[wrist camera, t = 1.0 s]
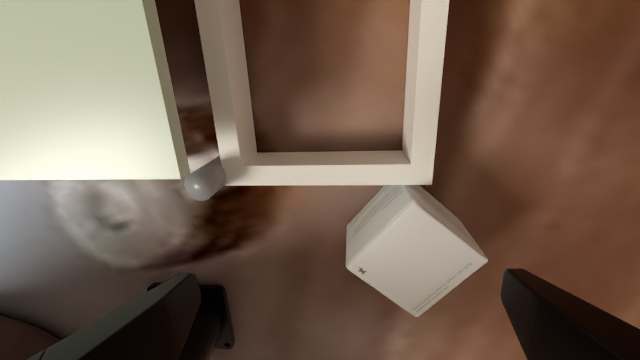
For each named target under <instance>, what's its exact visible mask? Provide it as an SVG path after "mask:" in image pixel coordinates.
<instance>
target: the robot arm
mask: <svg viewBox="0 0 640 360" xmlns="http://www.w3.org/2000/svg"><path fill="white" fill-rule="evenodd" d="M147 291H148V292H146V293H145V294H143V295H141V296H139V297H138V298H136V299H134V300H132V301H130V302H129V303H127V304H125V305H123V306H122V307H120V308H118V309H116V310H114V311H113V312H111V313H109V314H107V315H106V316H104V317H102V318H100V319H98V320H97V321H95V322H93V323H91V324H90V325H88V326H86V327H84V328H83V329H81V330H79V331H77V332H75V333H74V334H72V335H70V336H68V337H67V338H65V339H63V340H61V341H59V342H58V343H56V344H54V345H52V346H51V347H49V348H48V349H47V350H43V351H42V352H40V353H38V354H36V355H34V356H33V357H31V358H29V359H27V360H209V359H210V357H211V354H212V352H213V350H214V348H217V349H231V348H232V347H233V345H234V342H235V341H234V336H233V331H232V325H231V320H230V315H229V309H228V304H227V299H226V293H225V289H224V288H223V287H222V286H219V285H198V282H197V278H196V276H195V274H193V273H181V274H178V275H177V276H175V277H173V278H171V279H169V280H168V281H166V282H164V283H152V284H151V285H150V286H149V287H148V289H147ZM217 291H218V292H219V293H218V292H217ZM501 300H502V303H503V305H504V308H505V310H506V312H507V314H508V317H509V319H510V321H511V324H512V326H513V328H514V331H515V333H516V335H517V338H518V340H519V342H520V344H521V347H522V349H523V351H524V353H525V355H526V358H527V360H640V329H638V328H636V327H634V326H632V325H631V324H629V323H627V322H625V321H623V320H621V319H619V318H617V317H615V316H613V315H611V314H609V313H607V312H605V311H603V310H601V309H600V308H598V307H596V306H594V305H592V304H590V303H588V302H586V301H584V300H582V299H580V298H578V297H576V296H574V295H572V294H571V293H569V292H567V291H565V290H563V289H561V288H559V287H557V286H555V285H553V284H551V283H549V282H547V281H545V280H543V279H542V278H540V277H538V276H536V275H534V274H532V273H530V272H528V271H526V270H524V269H520V268H517V269H506V270H505V271H504V274H503V280H502V287H501Z"/></svg>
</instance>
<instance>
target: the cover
mask: <svg viewBox="0 0 640 360" xmlns="http://www.w3.org/2000/svg"><path fill="white" fill-rule="evenodd" d="M188 174H190V170H189V165H188V161H187V156H186V151H185V146H184V141H183V136H182V131H181V126H180V121H179V117H178V112H177V107H176V102H175V97H174V92H173V87H172V82H171V77H170V73H169V68H168V63H167V58H166V53H165V48H164V43H163V38H162V33H161V29H160V24H159V19H158V14H157V9H156V4H155V0H0V180H102V179H182V178H183V177H185V176H186V175H188Z"/></svg>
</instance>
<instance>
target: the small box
mask: <svg viewBox="0 0 640 360" xmlns="http://www.w3.org/2000/svg"><path fill="white" fill-rule="evenodd" d="M487 262H488V259H487V257H486V256H485V254H484V253H483V252H482V250H481V249H480V247H479V246H478V245H477V243H476V242H475V240H474V239H473V238H472V236H471V235H470V234H469V232H468V231H467V230H466V228H465V227H464V225H463V224H462V223H461V221H460V220H459V219H458V218H457V217H456V216H455V215H454V214H452V213H451V212H450V211H449V210H448V209H447V208H446V207H444V206H443V205H442V204H441V203H440V202H438V201H437V200H436V199H435V198H434V197H433V196H431V195H430V194H429V193H428V192H427V191H426V190H424V189H423V188H422V187H421V186H420V185H385V186H384V187H383V188H382V189H381V190H380V191H379V192H378V193H377V194H376V195H375V196H374V197H373V198H372V199H371V200H370V201H369V203H368V204H367V205H366V206H365V207H364V208H363V209H362V210H361V211H360V212H359V213H358V214H357V215H356V216H355V217H354V218H353V219H352V221H351V222H350V223H349V224H348V225H347V235H346V268H347V269H348V270H349V271H351V272H352V273H354V274H355V275H356V276H358V277H359V278H361V279H362V280H364V281H365V282H366V283H368V284H369V285H371V286H372V287H374V288H375V289H376V290H378V291H379V292H381V293H382V294H383V295H385V296H386V297H388V298H389V299H390V300H392V301H393V302H394V303H396V304H397V305H399V306H400V307H402V308H403V309H404V310H406V311H407V312H409V313H410V314H412V315H413V316H415V317H419V316H420V315H421V314H422V313H424V312H425V311H426V310H427V309H429V308H430V307H431V306H432V305H434V304H435V303H436V302H437V301H439V300H440V299H441V298H442V297H444V296H445V295H446V294H447V293H449V292H450V291H451V290H452V289H454V288H455V287H456V286H457V285H459V284H460V283H461V282H462V281H464V280H465V279H466V278H467V277H469V276H470V275H471V274H473V273H474V272H475V271H476V270H478V269H479V268H480V267H481V266H483V265H484V264H485V263H487Z"/></svg>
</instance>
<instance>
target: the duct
mask: <svg viewBox="0 0 640 360" xmlns="http://www.w3.org/2000/svg"><path fill="white" fill-rule="evenodd" d="M194 1H195V7H196V13H197V20H198V26H199V32H200V38H201V44H202V50H203V56H204V62H205V68H206V74H207V80H208V87H209V93H210V99H211V105H212V111H213V117H214V123H215V129H216V135H217V141H218V147H219V154H220V156H218V157H217V158H215V159H213V160H212V161H210V162H209V163H207V164H206V165H204V166H202V167H201V168H199V169H198V170H196V171H195V172H193V173H191V174H190V175H188V176H187V177H186V179H185V182H184V187H185V190H186V192H187V194H188V195H189V196H190V197H191V198H193V199H195V200H197V201H205V200H207V199H209V198H210V197H211V196H212V195H214V194H215V193H216V192H217V191H218V190H219V189H220V188H221V187H223V186H224V185H225V186H232V185H432V178H433V168H434V157H435V146H436V136H437V125H438V115H439V104H440V94H441V83H442V72H443V62H444V51H445V41H446V30H447V20H448V9H449V0H410V14H409V33H408V51H407V69H406V87H405V105H404V124H403V142H402V150H397V151H332V152H266V153H257V147H256V139H255V130H254V122H253V113H252V105H251V97H250V88H249V80H248V71H247V63H246V55H245V46H244V38H243V29H242V21H241V12H240V4H239V0H194Z"/></svg>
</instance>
